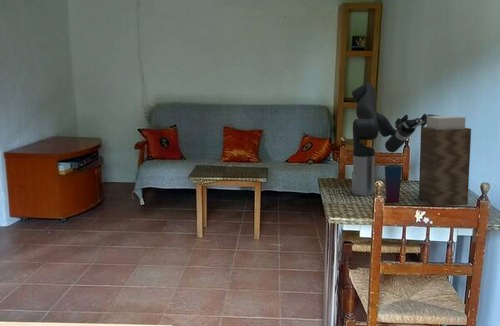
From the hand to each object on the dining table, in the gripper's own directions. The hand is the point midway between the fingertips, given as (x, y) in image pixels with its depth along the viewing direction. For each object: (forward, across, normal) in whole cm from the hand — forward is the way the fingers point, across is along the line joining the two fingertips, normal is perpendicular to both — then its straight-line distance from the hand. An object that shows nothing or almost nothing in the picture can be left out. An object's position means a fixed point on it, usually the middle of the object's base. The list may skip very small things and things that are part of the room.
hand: (416, 115), depth 214 cm
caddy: (+19, 0, +16) cm, 25 cm away
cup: (+8, -20, +42) cm, 47 cm away
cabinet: (+10, 0, +43) cm, 44 cm away
